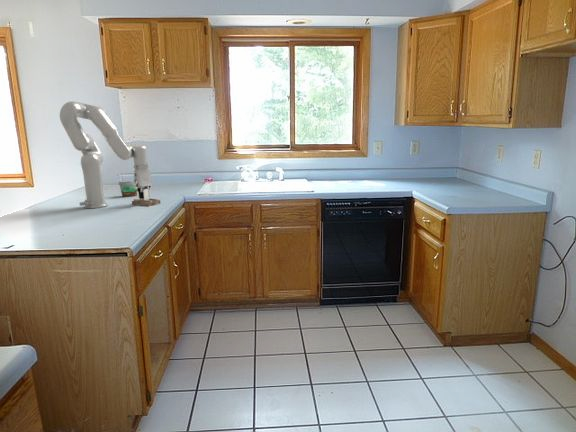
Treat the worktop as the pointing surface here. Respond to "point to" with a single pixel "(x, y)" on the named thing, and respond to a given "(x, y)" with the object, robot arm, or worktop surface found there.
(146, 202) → the rail board
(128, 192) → the food container
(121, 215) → the worktop surface
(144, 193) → the slider tab
